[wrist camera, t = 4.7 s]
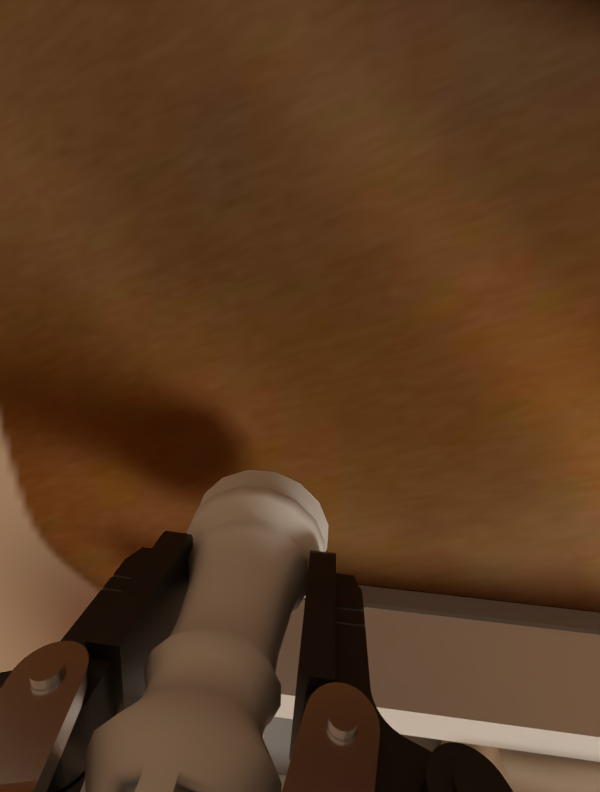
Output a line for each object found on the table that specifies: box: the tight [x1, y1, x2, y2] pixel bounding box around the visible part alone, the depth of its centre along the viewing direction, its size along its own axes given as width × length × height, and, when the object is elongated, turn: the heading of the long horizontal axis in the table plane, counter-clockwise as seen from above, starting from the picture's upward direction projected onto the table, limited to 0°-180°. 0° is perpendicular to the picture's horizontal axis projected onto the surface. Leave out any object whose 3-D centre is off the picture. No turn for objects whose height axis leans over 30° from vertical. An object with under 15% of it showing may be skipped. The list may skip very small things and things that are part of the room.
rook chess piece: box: [84, 470, 328, 792], centre depth 9 cm, size 4×4×8 cm
